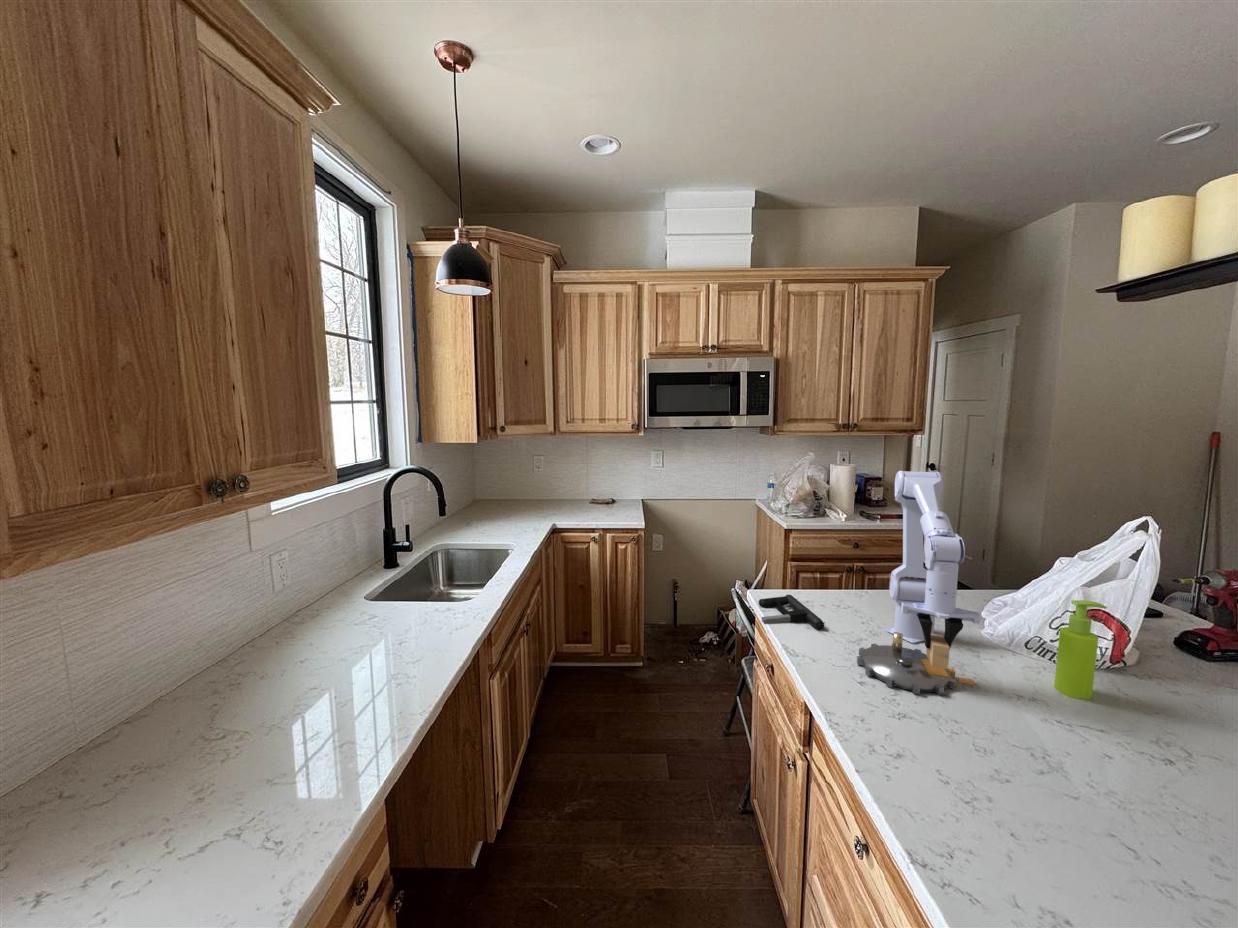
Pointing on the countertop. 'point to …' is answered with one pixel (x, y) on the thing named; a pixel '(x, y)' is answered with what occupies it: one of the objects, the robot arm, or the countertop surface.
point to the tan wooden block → (938, 652)
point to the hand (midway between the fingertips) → (936, 647)
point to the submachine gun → (790, 612)
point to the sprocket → (905, 668)
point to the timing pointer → (966, 680)
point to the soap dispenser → (1077, 654)
